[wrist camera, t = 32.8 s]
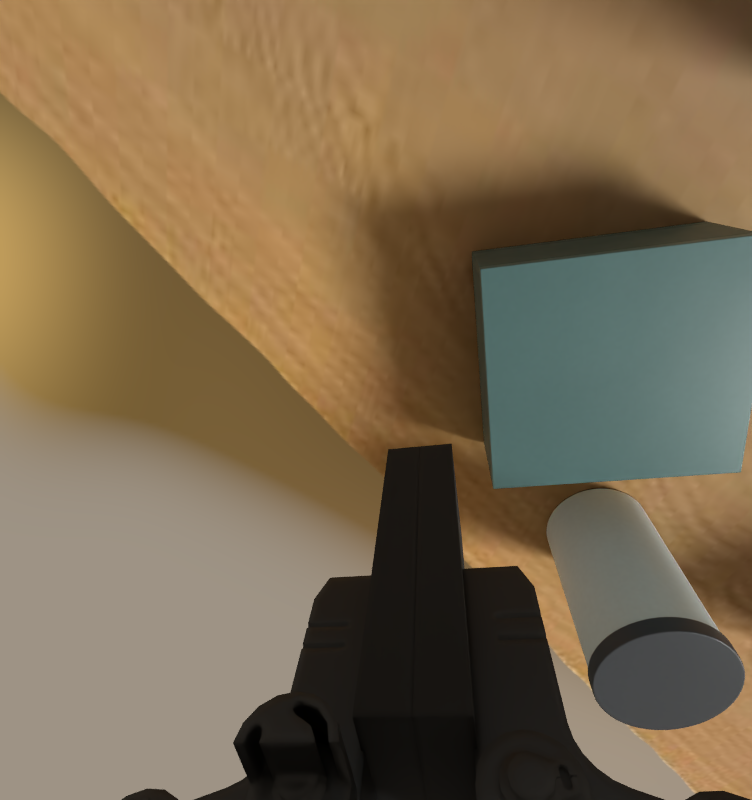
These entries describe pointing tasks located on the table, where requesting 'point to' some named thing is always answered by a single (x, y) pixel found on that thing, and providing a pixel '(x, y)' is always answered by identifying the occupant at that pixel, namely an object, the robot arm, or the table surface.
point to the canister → (639, 616)
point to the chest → (575, 248)
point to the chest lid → (619, 363)
